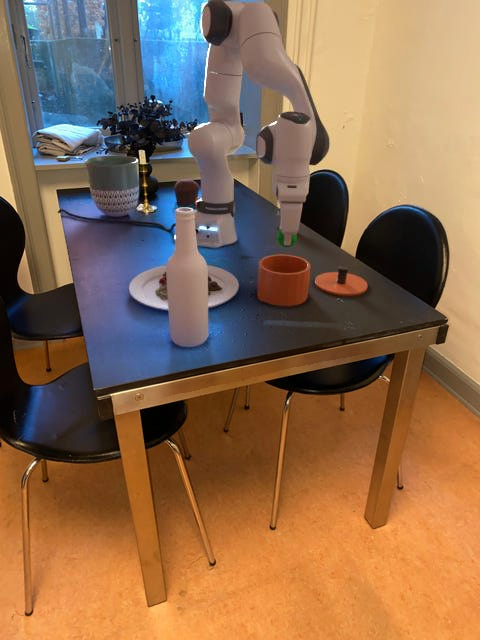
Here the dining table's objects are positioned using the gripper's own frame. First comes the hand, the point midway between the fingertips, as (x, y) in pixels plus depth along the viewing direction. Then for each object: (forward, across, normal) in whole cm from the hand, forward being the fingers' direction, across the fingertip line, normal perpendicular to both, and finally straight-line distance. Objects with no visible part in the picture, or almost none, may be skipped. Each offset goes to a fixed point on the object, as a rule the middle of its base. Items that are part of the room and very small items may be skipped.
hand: (286, 240), depth 120 cm
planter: (+16, -68, -65) cm, 95 cm away
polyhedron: (+2, 0, 0) cm, 2 cm away
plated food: (+16, -1, -27) cm, 32 cm away
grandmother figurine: (+16, -59, +3) cm, 61 cm away
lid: (+15, -8, +17) cm, 24 cm away
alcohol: (+16, +24, -22) cm, 36 cm away
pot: (+16, 0, 0) cm, 16 cm away
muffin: (+16, -90, -40) cm, 100 cm away
